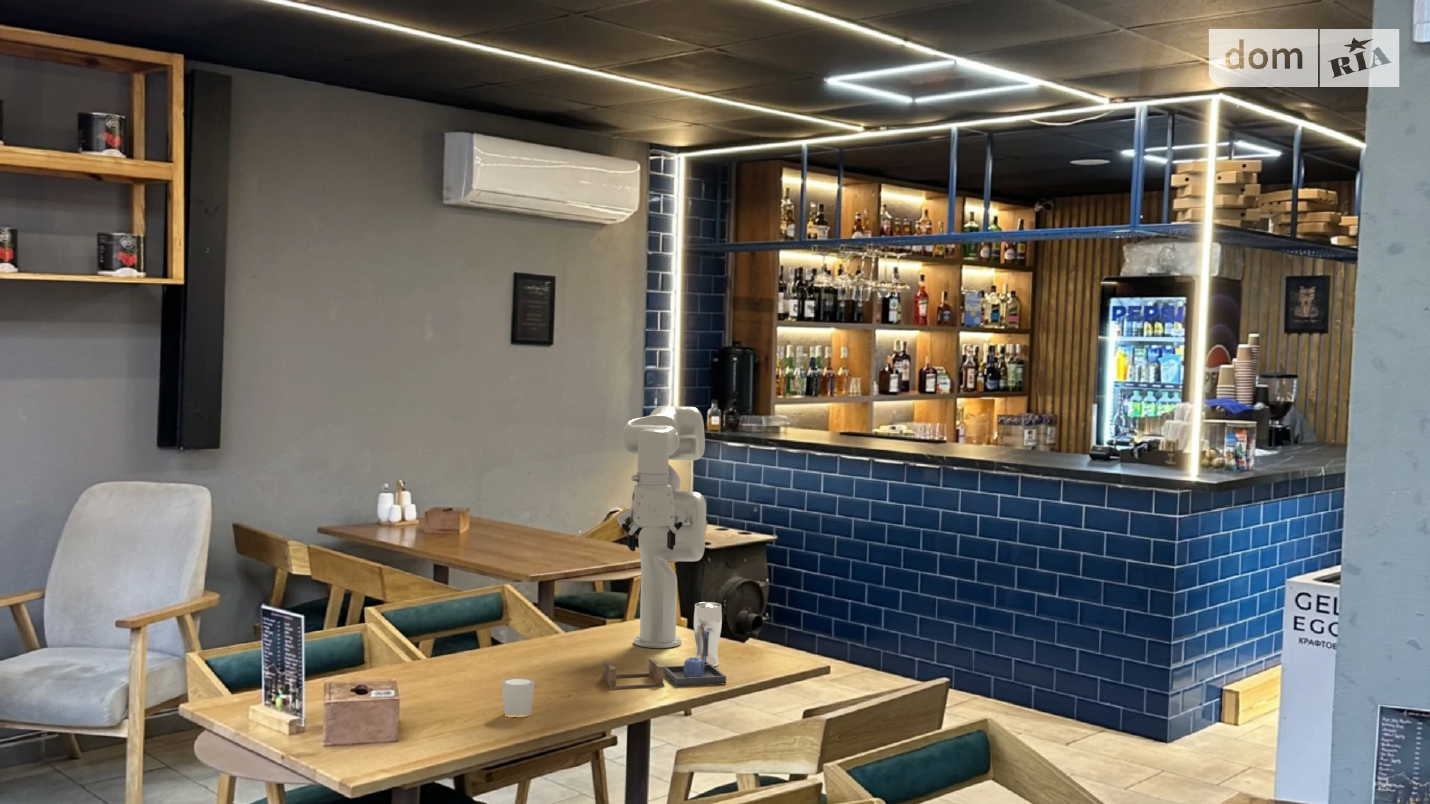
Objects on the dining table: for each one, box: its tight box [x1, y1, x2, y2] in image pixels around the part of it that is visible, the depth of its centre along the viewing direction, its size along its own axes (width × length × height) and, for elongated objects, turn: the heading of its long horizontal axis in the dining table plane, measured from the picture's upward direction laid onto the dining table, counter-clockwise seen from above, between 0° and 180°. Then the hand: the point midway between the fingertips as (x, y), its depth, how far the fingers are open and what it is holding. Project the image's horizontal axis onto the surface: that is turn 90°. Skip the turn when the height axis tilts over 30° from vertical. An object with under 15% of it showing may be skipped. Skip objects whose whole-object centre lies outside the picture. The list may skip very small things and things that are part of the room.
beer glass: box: [693, 601, 723, 667], centre depth 321 cm, size 7×7×15 cm
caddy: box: [601, 657, 665, 690], centre depth 303 cm, size 11×12×4 cm
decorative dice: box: [683, 657, 704, 678], centre depth 307 cm, size 4×4×4 cm
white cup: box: [501, 677, 535, 716], centre depth 274 cm, size 7×7×7 cm
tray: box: [663, 664, 727, 687], centre depth 307 cm, size 12×12×2 cm
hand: (651, 549), depth 316 cm, fingers open, 9 cm apart
